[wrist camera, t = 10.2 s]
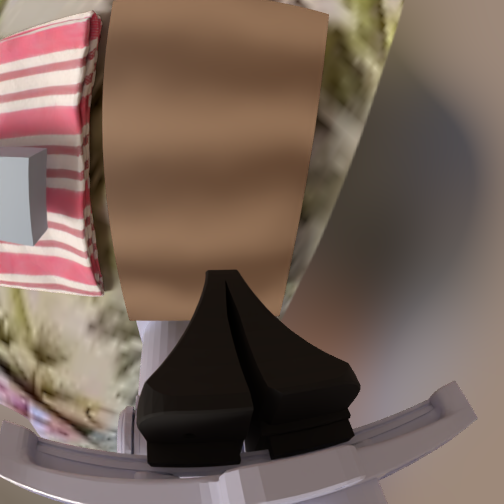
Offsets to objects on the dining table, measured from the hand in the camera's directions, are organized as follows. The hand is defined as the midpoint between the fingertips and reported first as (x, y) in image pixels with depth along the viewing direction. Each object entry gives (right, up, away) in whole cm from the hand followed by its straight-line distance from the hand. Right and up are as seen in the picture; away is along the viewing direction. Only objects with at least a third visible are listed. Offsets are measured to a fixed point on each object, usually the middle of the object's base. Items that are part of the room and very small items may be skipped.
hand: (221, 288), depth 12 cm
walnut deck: (-2, +8, +7) cm, 10 cm away
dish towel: (-18, +8, +4) cm, 21 cm away
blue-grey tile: (-17, +6, +1) cm, 18 cm away
